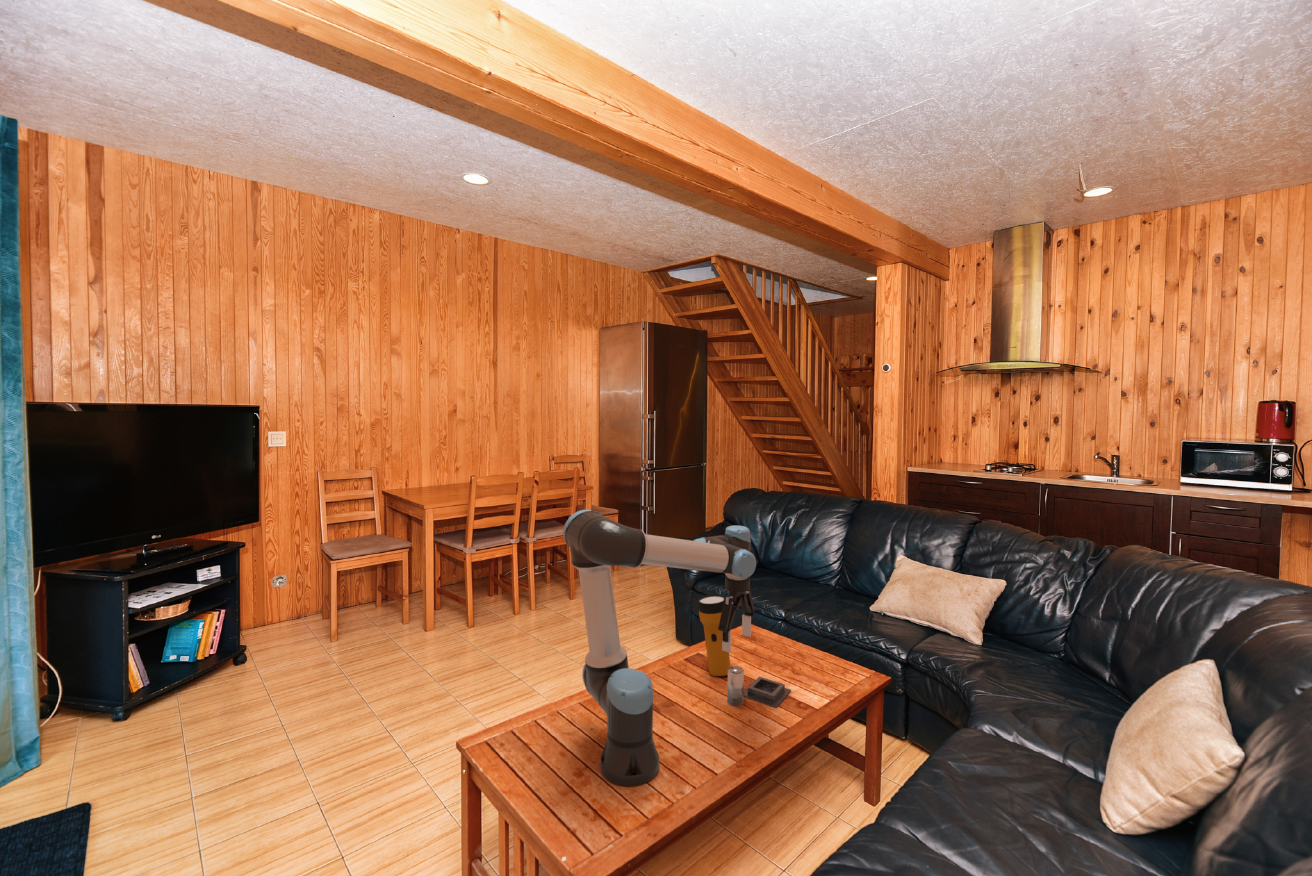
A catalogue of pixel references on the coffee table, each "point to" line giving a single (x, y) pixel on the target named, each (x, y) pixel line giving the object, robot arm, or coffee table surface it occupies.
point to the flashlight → (713, 634)
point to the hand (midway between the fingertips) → (736, 643)
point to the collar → (767, 692)
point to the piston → (735, 686)
